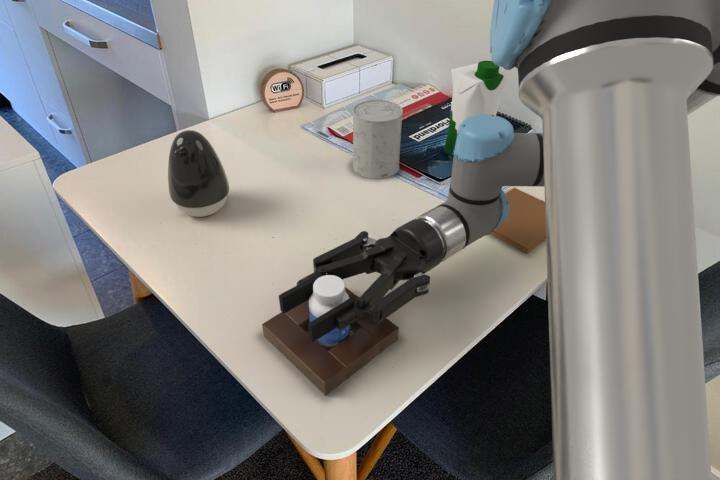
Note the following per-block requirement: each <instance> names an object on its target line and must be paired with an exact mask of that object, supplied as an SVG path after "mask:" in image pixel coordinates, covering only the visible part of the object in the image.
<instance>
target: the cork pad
mask: <svg viewBox="0 0 720 480" xmlns="http://www.w3.org/2000/svg"><path fill="white" fill-rule="evenodd" d="M504 193H505V194H506V196H507V198H508V200H507V201H508V205H509V208H510V209H509V215H508V217H507V219H506V220H505V221H504V222H503V223H502V224H501V225H500V226H498V227H497V228H496V229H495V230H494V231H493V232H492V233H490V234H491V235H492V236H494V237H496V238H497V239H500V240H501V241H504V242H505V243H506V244H509V245H511V246H513V247H514V248H517V249H518V250H520V251H521V252H524V253H526V254H529V253H530V252H532V251H533V250H534V249H535V248H537V247H538V246H539V245H541V243H543V242H544V241H546V218H545V200H542V199H540V198H537V197H535V196H533V195H532V194H529V193H526V192H525V191H522V190H521V189H518V188H516V187H513V188H512V189H510V190H508V191H506V192H504Z"/></svg>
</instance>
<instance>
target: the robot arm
mask: <svg viewBox="0 0 720 480" xmlns="http://www.w3.org/2000/svg"><path fill="white" fill-rule="evenodd" d="M489 54H490V55H491V61H493V63H494V64H495V65H497V66H500V67H501V68H503V69H504V70H505V71H511V70H513V69H514V68H516V69H517V76H518V77H517V79H518V97H519V100H520V102H521V104H523V105H524V106H525V107H526V108H527V109H529V110H530V111H532V112H533V113H534V114H535V115H537V116H538V117H539V118H540V119H541V120H542V121H541V123H542V132H541V133H538V132H537V133H534V132H514V126H513V125H512V123H511V122H510V121H509V120H507V119H506V118H504V117H502V116H499V115H496V116H495V117H494V116H491V115H488V114H480V115H474V116H470V117H468V118H466V119H465V120H464V121H463V122H462V123H461V124H460V126H459V130H458V133H457V138H456V144H455V147H454V158H453V157H452V166H451V167H452V168H451V176H450V183H449V189H448V196H447V199H446V200H445V201H444V202H442V203H441V204H439V205H437V206H435V207H433V208H432V209H430V210H427V211H426V212H424V213H422V214H419V215H418V216H416V217H415V218H413V219H411V220H409V221H408V222H406V223H404V224H402V225H400V226H398V227H396V228H395V229H394V230H393V231H392V232H391V234H389V236H387V237H382V238H378V239H375V238H371V237H369V231H366V230H363V231H360V233H358V234H357V235H356V236H355V237H354V238H352V239H351V240H348V241H346V242H344V243H343V244H340V245H338V246H336V247H334V248H332V249H330V250H328V251H326V252H324V253H322V254H320V255H318V256H316V257H314V258H313V260H312V267H313V272H312V273H310V274H308V275H306V276H305V277H303V278H300V279H299V280H298V281H297V282H296V285H295V286H293V287H292V288H290V289H288V290H285V291H284V292H282V293H281V294H278V301H279V302H278V303H279V310H280V313H281V312H282V313H283V314H284V313H286V312H288V311H290V310H291V309H293V308H295V307H297V306H298V305H300V304H302V303H304V302H305V301H307V300H309V298H310V296H311V295H312V294H313V284H314V282H315V281H316V280H317V279H318V278H320V277H322V276H325V275H334V276H337V277H339V278H341V279H342V280H345V279H349V278H352V277H355V276H358V275H361V274H366V275H369V274H373V273H376V274H380V275H379V276H378V277H377V278H376V279H375V280H374V281H373V283H372V284H371V285H370V286H369V287H367V289H366V290H365V291H364V292H363V293H362V294H361V295H360V296H358V295H357V297H356V304H355V305H354V301H353V300H352V299H351V298H349V299H348V300H346V301H344V302H343V303H341V304H339V305H338V306H336V307H334V308H333V309H331V310H330V311H328V312H326V313H325V314H323V315H321V316H320V317H318V318H316V319H315V320H313V321H311V322H310V323H308V334H309V339H310V340H311V341H312V342H314V341H316V340H317V339H319V338H321V337H322V336H324V335H325V334H327V333H329V332H330V331H332V330H333V329H335V328H338V329H339V330H340V329H344V328H346V327H347V326H349V325H350V324H352V323H353V322H355V321H357V320H358V319H367V320H370V323H371V324H372V325H376V324H378V323H380V322H381V321H383V320H384V319H385V318H387V319H388V318H389V316H391V315H392V314H394V313H395V312H397V311H399V309H401V308H402V307H404V306H405V305H407V304H408V303H410V302H411V301H413V300H414V299H415V298H418V297H421V296H425V295H427V294H429V292H430V285H431V284H430V283H431V277H430V275H428V274H426V273H428V272H430V271H431V270H433V269H434V268H436V267H438V266H439V265H440V264H441V263H443V262H445V261H447V260H448V259H450V258H451V257H453V256H455V255H457V254H458V253H459V252H461V251H463V250H464V249H466V247H468V246H470V245H471V244H473V243H475V242H476V241H478V240H480V239H482V238H484V237H486V236H487V235H488V236H489V235H490V234H491V233H492V232H493V231H494V230H495V229H496V228H497V227H498V226H500V225H501V224H502V223H503V222H504V221H505V220H506V219H507V217H508V215H509V209H510V208H509V205H508V201H507V200H508V198H507V196H506V194H505V193H506V192H505V191H504V190H503V187H542V188H543V187H544V202H545V218H546V239H545V247H546V276H547V277H546V279H547V302H548V304H547V306H548V307H547V308H548V309H547V310H548V341H549V343H548V344H549V368H550V369H549V370H550V371H549V372H550V373H549V374H550V398H551V399H550V403H551V430H552V433H551V435H552V464H553V465H552V466H553V467H552V468H553V475H552V477H551V478H550V480H712V479H713V478H712V466H711V463H712V462H711V451H710V450H711V449H710V433H709V420H708V404H707V389H706V388H707V387H706V375H705V373H706V372H705V359H704V358H705V357H704V346H703V345H704V343H703V329H702V314H701V301H700V300H701V298H700V281H699V271H698V270H699V269H698V268H699V267H698V254H697V253H698V252H697V241H696V240H697V238H696V237H697V236H696V223H695V210H694V208H695V207H694V195H693V179H692V178H693V177H692V162H691V148H690V134H689V132H690V131H689V117H688V116H689V115H691V114H692V113H693V112H695V111H697V110H698V109H700V108H701V107H703V106H704V105H707V104H708V103H709V102H711V101H712V100H714V99H716V98H717V97H720V0H493V5H492V12H491V21H490V29H489ZM401 281H404V282H403V283H402V284H400V285H399V286H397V285H398V283H399V282H401ZM396 286H397V287H396ZM395 287H396V288H395ZM389 291H390V292H389ZM358 297H359V299H358Z"/></svg>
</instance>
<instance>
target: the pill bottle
mask: <svg viewBox="0 0 720 480" xmlns="http://www.w3.org/2000/svg"><path fill="white" fill-rule="evenodd" d="M345 287H346V283H345V281H344V279H341V278H339V277H337V276H334V275H325V276H322V277H320V278H318V279H317V280H316V281H315V282H314V284H313V294H312V295H311V296H310V298H309V318H310V322H311V321H313V320H315V319H316V318H318V317H320V316H321V315H323V314H325V313H326V312H328V311H330V310H331V309H333V308H334V307H336V306H338V305H339V304H341V303H343V302H344V301H346V300H348V299H349V296H348V294H347V293H346V292H345ZM350 335H351V329H350V325H349V326H347V327H346V328H344V329H340V330H339V329H338V328H335V329H333V330H332V331H330V332H329V333H327V334H325V335H324V336H322V337H321V338H319V339H317V340H316V341H317V342H318V343H319V344H320V345H321V346H322V347H324V348H325V349H326V350H327V351H329V350H330V349H332V348H333V347H335V346H336V345H337V344H339V343H340V342H342V341H343V340H344V339H346V338H347V337H349V336H350Z"/></svg>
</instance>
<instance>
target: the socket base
mask: <svg viewBox="0 0 720 480" xmlns="http://www.w3.org/2000/svg"><path fill="white" fill-rule="evenodd" d="M345 292H346V293H347V294H348V296H349V298H351V299H352V300H353V301H354V305H355V304H356V297H357V296H358V295H357V294H355V293H354V292H352V290H350V289H349V288H347V287H346V286H345ZM359 297H360V296H358V299H359ZM308 323H310V318H309V300H307V301H305V302H304V303H302V304H300V305H298V306H297V307H295V308H293V309H291V310H290V311H288V312H286V313H284V314H283V313H282V312H281V311H280V312H279V313H278V314H276V315H275V316H272V317H271V318H270V319H268V320H266V321H264V322H263V323H262V324H261V327H262V328H261V329H262V333H263V337H264V338H265V339H266V340H267V341H268V342H269V343H270V344H271V345H272V346H273V347H274V348H275V349H276V350H278V352H279V353H281V355H283V356H284V357H285V358H286V359H287V361H288V362H289V363H291V364H292V365H293V366H294V367H295V368H296V369H297V370H298V371H299V372H300V373H301V374H302V375H303V376H304V377H305V378H307V380H309V382H311V383H312V384H313V385H314V386H315V387H316V388H317V389H318V390H319V391H320V392H321V393H322V394H323V395H324V396H327V395H329V394H330V393H331V392H332V391H333V390H335V389H336V388H337V387H339V386H340V385H341V384H343V383H344V382H345V381H346V380H348V379H349V378H350V377H352V376H353V375H355V373H357V372H359V371H360V370H361V369H362V368H364V367H365V366H366V365H367V364H369V363H370V362H372V360H374V359H375V358H377V357H378V356H380V354H382V353H383V352H385V351H386V350H387V349H388V348H390V347H391V346H392V345H394V344H395V343H396V342H398V340H399V333H400V327H399V326H397V325H396V324H395V323H394V322H392V321H391V320H390V319H389V318H388V317H387V318H385V319H384V320H383V321H381V322H380V323H378V324H376V325H372V324H371V323H370V320H367V319H358V320H357V321H355V322H353V323H352V324H350V331H352V332H353V333H350V336H349V337H347V338H346V339H344V340H343V341H342V342H340V343H339V344H337V345H336V346H335V347H333V348H332V349H330V350H329V351H327V350H326V349H325V348H324V347H322V346H321V345H320V344H319V343H318V342H317V341H314V342H312V341H311V340H310V339H309V331H308Z"/></svg>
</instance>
